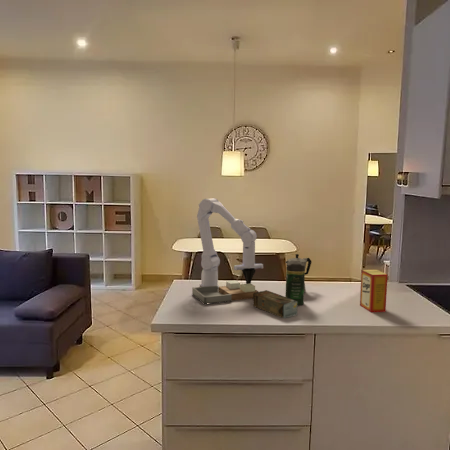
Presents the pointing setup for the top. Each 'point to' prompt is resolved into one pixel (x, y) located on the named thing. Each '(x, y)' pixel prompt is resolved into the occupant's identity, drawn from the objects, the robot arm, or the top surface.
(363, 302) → the baking soda box
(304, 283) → the coffeepot
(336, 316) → the top surface
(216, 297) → the tray
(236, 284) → the tile
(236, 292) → the walnut board
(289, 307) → the beverage carton
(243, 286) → the tile
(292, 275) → the coffee jar
